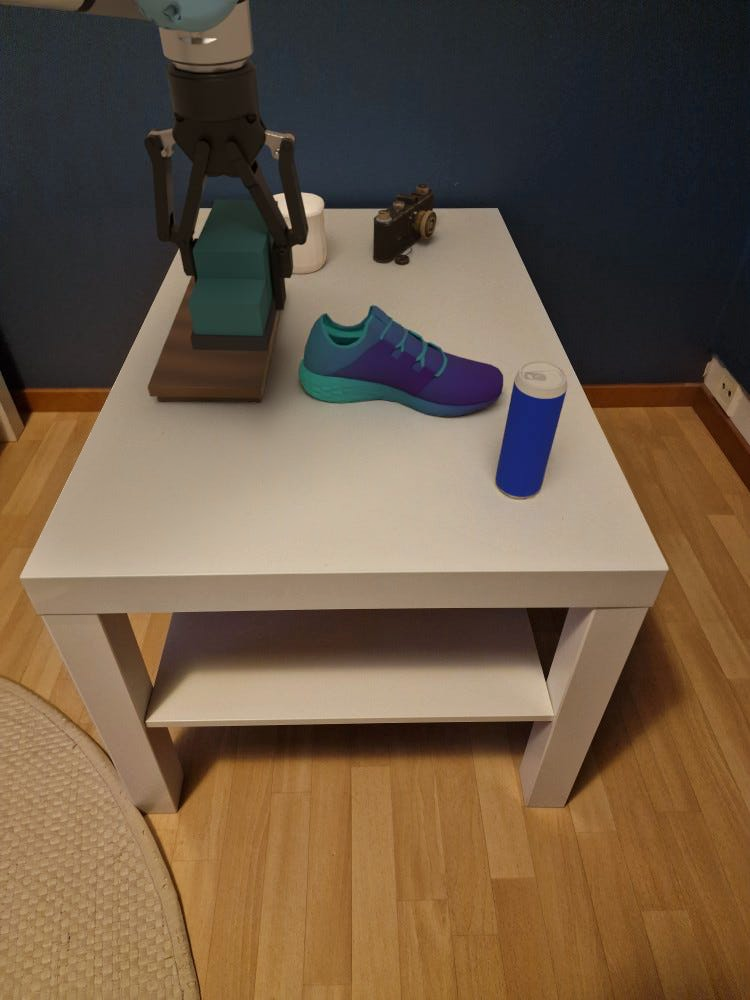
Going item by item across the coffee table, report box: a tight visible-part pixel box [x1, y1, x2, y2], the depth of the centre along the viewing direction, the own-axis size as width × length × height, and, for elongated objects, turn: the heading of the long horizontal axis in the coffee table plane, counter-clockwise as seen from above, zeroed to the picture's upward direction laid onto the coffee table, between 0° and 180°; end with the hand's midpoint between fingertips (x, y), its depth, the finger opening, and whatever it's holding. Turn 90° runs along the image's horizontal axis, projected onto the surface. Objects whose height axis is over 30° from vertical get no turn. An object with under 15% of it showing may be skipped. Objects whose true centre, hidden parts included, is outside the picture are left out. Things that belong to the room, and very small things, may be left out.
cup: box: [272, 192, 328, 275], centre depth 110 cm, size 10×10×10 cm
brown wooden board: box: [147, 276, 281, 404], centre depth 95 cm, size 28×14×3 cm, turn 0°
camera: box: [372, 183, 438, 266], centre depth 116 cm, size 16×7×8 cm, turn 148°
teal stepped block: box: [188, 199, 286, 351], centre depth 72 cm, size 18×8×8 cm, turn 179°
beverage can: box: [494, 360, 568, 499], centre depth 72 cm, size 5×5×15 cm
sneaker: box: [297, 304, 504, 418], centre depth 85 cm, size 10×26×12 cm, turn 81°
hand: (243, 302), depth 75 cm, fingers closed on teal stepped block, 7 cm apart
